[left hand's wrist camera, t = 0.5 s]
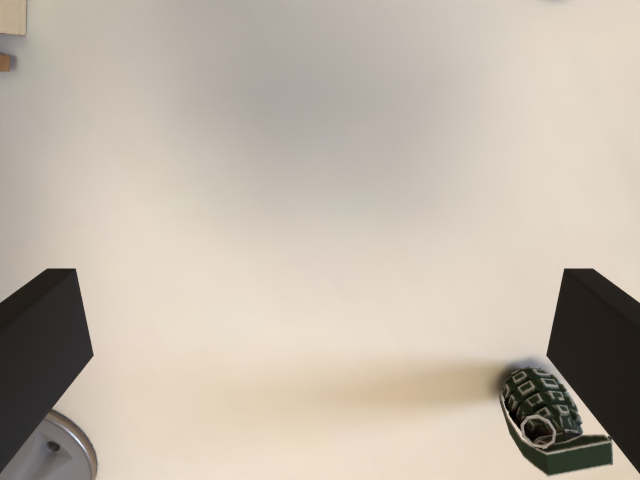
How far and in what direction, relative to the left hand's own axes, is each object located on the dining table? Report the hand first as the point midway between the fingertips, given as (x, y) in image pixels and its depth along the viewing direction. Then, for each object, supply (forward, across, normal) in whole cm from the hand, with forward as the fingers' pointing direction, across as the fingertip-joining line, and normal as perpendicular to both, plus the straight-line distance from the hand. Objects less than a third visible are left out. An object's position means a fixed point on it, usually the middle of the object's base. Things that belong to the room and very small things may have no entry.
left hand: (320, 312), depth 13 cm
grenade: (+27, +20, -23) cm, 41 cm away
